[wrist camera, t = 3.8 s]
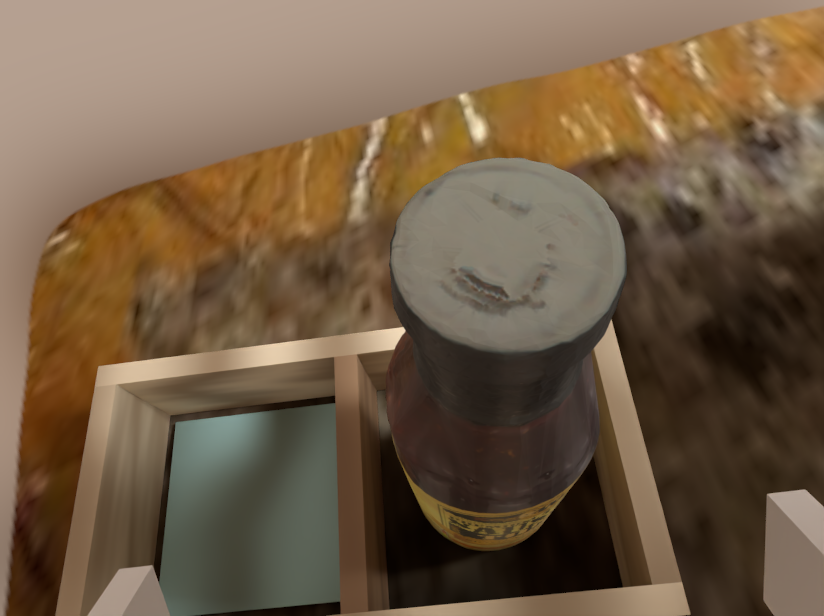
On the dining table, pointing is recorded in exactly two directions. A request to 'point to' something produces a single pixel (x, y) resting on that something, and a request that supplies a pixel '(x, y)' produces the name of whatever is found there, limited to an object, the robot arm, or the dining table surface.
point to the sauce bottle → (499, 343)
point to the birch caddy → (308, 487)
